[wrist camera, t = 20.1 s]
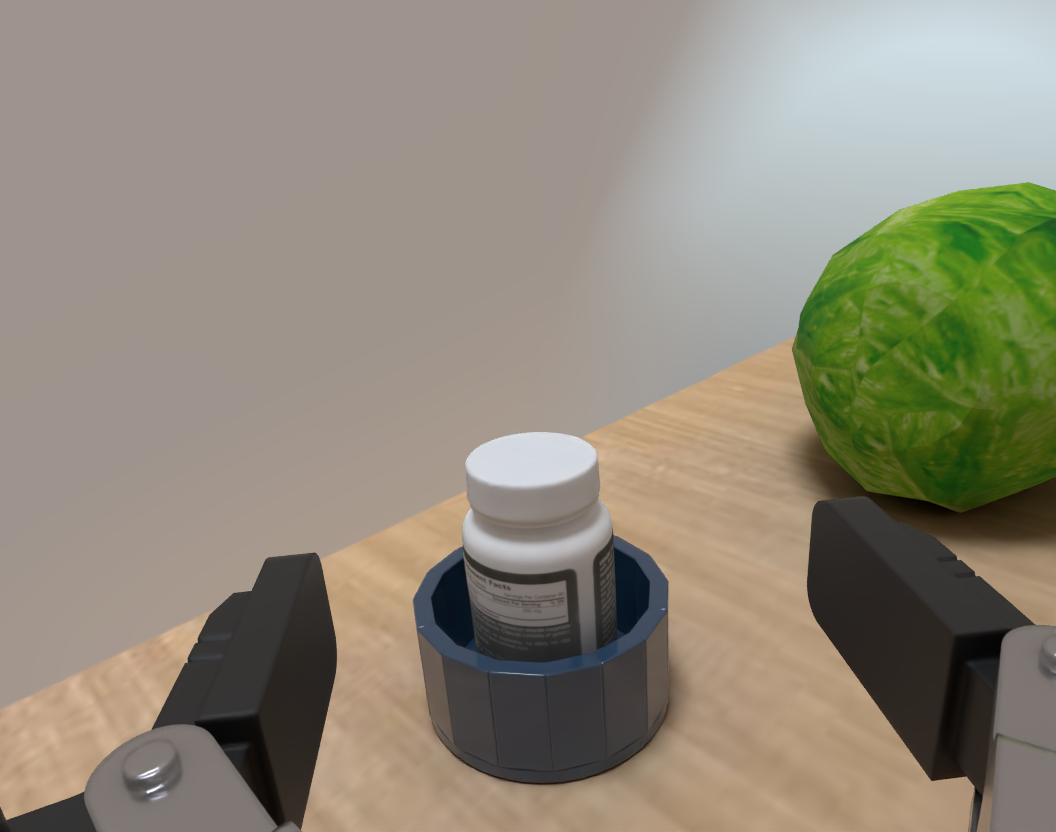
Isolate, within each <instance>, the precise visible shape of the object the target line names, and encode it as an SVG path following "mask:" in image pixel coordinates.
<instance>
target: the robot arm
mask: <svg viewBox="0 0 1056 832" xmlns="http://www.w3.org/2000/svg"><path fill="white" fill-rule="evenodd" d="M807 591H808V598H809V603H810V606H811V609H812V612H813V615H814V617H815V619H816V621H817V622H818V624H819V625H820V627H821V628H822V629H823V631H824V632H825V633H826V635H827V636H828V638H829V639H830V640H831V642H832V643H833V645H834V646H835V647H836V649H837V650H838V652H839V653H840V654H841V656H842V657H843V659H844V660H845V661H846V663H847V664H848V665H849V667H850V668H851V670H852V671H853V672H854V674H855V675H856V677H857V678H858V679H859V681H860V682H861V684H862V685H863V686H864V688H865V689H866V690H867V692H868V693H869V695H870V696H871V697H872V699H873V700H874V702H875V703H876V704H877V706H878V707H879V709H880V710H881V711H882V713H883V714H884V715H885V717H886V718H887V720H888V721H889V722H890V724H891V725H892V727H893V728H894V729H895V731H896V732H897V734H898V735H899V736H900V738H901V739H902V741H903V742H904V743H905V745H906V746H907V747H908V749H909V750H910V752H911V753H912V754H913V756H914V757H915V759H916V760H917V761H918V763H919V764H920V766H921V767H922V768H923V770H924V771H925V772H926V774H927V775H928V777H929V778H930V779H931V781H934V780H942V779H950V778H958V777H966V776H967V777H968V779H969V780H970V781H971V782H972V784H973V785H974V786H975V787H974V792H973V797H972V803H971V809H970V818H969V826H968V832H1056V626H1047V625H1035V624H1034V623H1033V622H1032V621H1030V620H1029V619H1028V618H1027V617H1026V616H1025V615H1024V614H1022V613H1021V612H1020V611H1019V610H1018V609H1017V608H1016V607H1014V606H1013V605H1012V604H1011V603H1010V602H1009V601H1007V600H1006V599H1005V598H1004V597H1003V596H1002V595H1001V594H999V593H998V592H997V591H996V590H995V589H994V588H993V587H991V586H990V585H989V584H988V583H987V582H986V581H984V580H983V579H982V578H981V577H980V576H975V572H974V571H973V570H972V569H971V568H970V567H968V566H967V565H966V564H965V563H964V562H963V561H961V560H957V556H956V555H955V554H953V553H952V552H951V551H950V550H949V549H948V548H946V547H945V546H944V545H943V544H942V543H941V542H940V541H938V540H937V539H936V538H935V537H933V536H931V535H929V534H927V533H925V532H923V531H920V530H918V529H916V528H914V527H912V526H910V525H908V524H906V523H904V522H902V523H896V522H895V521H894V520H893V519H892V518H891V517H890V516H889V515H888V514H886V513H885V512H884V511H883V510H882V509H881V508H880V507H879V506H878V505H877V504H875V503H874V502H873V501H872V500H871V499H870V498H868V497H866V496H860V497H850V498H841V499H831V500H822V501H818V502H817V503H816V504H815V506H814V509H813V513H812V523H811V537H810V550H809V564H808V577H807ZM336 666H337V647H336V637H335V631H334V626H333V621H332V616H331V611H330V606H329V600H328V595H327V590H326V585H325V580H324V575H323V570H322V565H321V562H320V559H319V556H318V555H317V554H316V553H307V554H297V555H288V556H278V557H269V558H267V559H266V560H265V562H264V564H263V567H262V569H261V571H260V573H259V575H258V578H257V580H256V582H255V584H254V587H253V589H252V591H248V592H239V593H233V594H232V595H231V596H230V597H229V598H228V599H227V600H225V602H223V603H222V604H221V605H220V606H219V607H218V608H217V609H215V610H214V611H213V612H212V613H211V614H210V615H209V617H208V619H207V621H206V623H205V625H204V627H203V629H202V631H201V633H200V635H199V637H198V643H195V645H194V647H193V649H192V651H191V653H190V655H189V657H188V663H185V664H184V666H183V668H182V670H181V672H180V674H179V676H178V678H177V680H176V682H175V684H174V686H173V688H172V690H171V692H170V694H169V696H168V698H167V700H166V702H165V704H164V706H163V708H162V710H161V712H160V714H159V716H158V718H157V720H156V722H155V724H154V726H153V728H152V730H150V731H148V732H145V733H143V734H140V735H138V736H136V737H134V738H132V739H131V740H129V741H127V742H125V743H124V744H122V745H121V746H119V747H118V748H117V749H115V750H114V751H113V752H111V753H110V754H109V755H108V756H107V757H106V758H105V759H104V760H103V761H102V762H101V763H100V764H99V765H98V766H97V768H96V769H95V770H94V772H93V773H92V774H91V776H90V778H89V780H88V782H87V785H86V788H85V792H83V793H81V794H78V795H76V796H73V797H71V798H68V799H65V800H62V801H60V802H57V803H54V804H51V805H48V806H45V807H43V808H40V809H37V810H34V811H31V812H28V813H26V814H23V815H20V816H17V817H14V818H11V819H9V820H6V819H5V817H4V814H3V812H2V810H1V808H0V832H302V831H301V827H302V823H303V818H304V814H305V809H306V805H307V800H308V796H309V791H310V787H311V783H312V778H313V774H314V769H315V765H316V760H317V756H318V751H319V747H320V742H321V738H322V733H323V729H324V724H325V720H326V715H327V711H328V706H329V702H330V697H331V693H332V688H333V684H334V679H335V674H336Z"/></svg>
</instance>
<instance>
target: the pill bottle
mask: <svg viewBox="0 0 1056 832" xmlns="http://www.w3.org/2000/svg"><path fill="white" fill-rule="evenodd" d="M465 468H466V469H465V470H466V481H467V498H468V501H469V503H470V506H471V509H470V510H469V512H468V513H467V515H466V517H465V519H464V523H463V527H462V542H463V557H464V562H465V570H466V577H467V584H468V590H469V597H470V604H471V612H472V620H473V628H474V636H475V645H476V652H478V653H480V654H483V655H486V656H488V657H491V658H494V659H496V660H510V661H527V662H544V663H545V662H550V661H554V660H559V659H564V658H569V657H574V656H579V655H584V654H588V653H593V652H594V651H596V650H598V649H600V648H602V647H604V646H605V645H607V644H609V643H611V642H613V641H615V640H617V639H618V637H617V613H616V588H615V564H614V540H613V527H612V520H611V516H610V513H609V511H608V509H607V507H606V506H605V505H604V503H603V502H602V501H601V500H600V499H599V498H598V497H599V491H600V479H599V467H598V456H597V452H596V450H595V449H594V447H593V446H592V445H590V444H589V443H588V442H586V441H584V440H582V439H580V438H577V437H574V436H570V435H566V434H560V433H550V432H548V433H547V432H531V433H521V434H514V435H509V436H505V437H501V438H497V439H494V440H492V441H489V442H487V443H484V444H482V445H481V446H479V447H478V448H476V449H475V450H474V451H473V452H472V453H471V454H470V455H469V456H468V458H467V460H466V465H465Z"/></svg>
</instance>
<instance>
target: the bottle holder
mask: <svg viewBox="0 0 1056 832" xmlns="http://www.w3.org/2000/svg"><path fill="white" fill-rule="evenodd" d="M613 540H614V564H615V588H616V613H617V637H618V639H617V640H615V641H613V642H611V643H609V644H607V645H605V646H604V647H602V648H600V649H598V650H596V651H594V652H593V653H588V654H584V655H579V656H574V657H569V658H564V659H559V660H554V661H550V662H545V663H544V662H527V661H510V660H496V659H494V658H491V657H488V656H486V655H483V654H480V653H478V652H476V645H475V636H474V628H473V620H472V612H471V604H470V597H469V590H468V584H467V577H466V570H465V562H464V557H463V547H460V548H458V549H457V550H455V551H453V552H452V553H451V554H450V555H448V556H447V557H446V558H444V559H443V560H442V561H441V562H439V563H438V564H437V565H435V566H434V567H433V568H432V569H430V570H429V572H427V574H426V576H425V578H424V580H423V581H422V583H421V585H420V587H419V589H418V591H417V593H416V595H415V596H414V599H413V606H414V613H415V621H416V628H417V635H418V642H419V648H420V655H421V661H422V668H423V674H424V681H425V687H426V694H427V700H428V707H429V713H430V716H431V720H432V723H433V725H434V728H435V730H436V732H437V734H438V735H439V737H440V738H441V740H442V741H443V743H444V744H445V745H446V746H447V747H448V748H449V749H450V750H451V751H452V752H453V753H454V754H455V755H456V756H458V757H459V758H460V759H462V760H463V761H464V762H466V763H467V764H469V765H471V766H473V767H475V768H476V769H478V770H480V771H483V772H485V773H488V774H490V775H493V776H497V777H500V778H504V779H508V780H513V781H520V782H527V783H554V782H565V781H571V780H576V779H582V778H585V777H588V776H592V775H595V774H598V773H601V772H603V771H605V770H608V769H610V768H613V767H615V766H616V765H618V764H620V763H622V762H623V761H625V760H627V759H628V758H630V757H631V756H632V755H634V754H635V753H636V752H638V751H639V750H640V749H641V748H642V747H643V746H644V745H645V744H646V743H647V742H648V741H649V740H650V739H651V738H652V736H653V735H654V734H655V732H656V731H657V730H658V728H659V726H660V724H661V722H662V720H663V718H664V716H665V713H666V710H667V706H668V700H669V587H668V580H667V578H666V577H665V575H664V574H663V573H662V571H661V570H660V568H659V567H658V566H657V564H656V563H655V561H654V560H653V559H652V557H651V556H650V555H649V554H648V553H646V552H644V551H642V550H641V549H639V548H637V547H635V546H634V545H632V544H630V543H628V542H627V541H625V540H623V539H622V538H619V537H618V536H614V535H613Z"/></svg>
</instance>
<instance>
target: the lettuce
mask: <svg viewBox="0 0 1056 832" xmlns="http://www.w3.org/2000/svg"><path fill="white" fill-rule="evenodd" d="M792 352H793V356H794V360H795V364H796V368H797V372H798V376H799V380H800V384H801V388H802V392H803V396H804V400H805V404H806V406H807V408H808V411H809V413H810V416H811V418H812V420H813V423H814V425H815V427H816V430H817V432H818V435H819V437H820V439H821V442H822V444H823V446H824V449H825V451H826V452H827V453H828V454H829V455H830V456H831V457H832V458H833V459H834V460H835V461H836V462H837V463H838V464H839V465H840V466H841V467H842V468H843V469H844V470H845V471H846V472H847V473H849V474H850V475H851V476H852V477H853V478H854V479H855V480H856V481H857V482H858V483H859V484H860V485H861V486H862V487H863V488H864V489H865V490H866V491H868V492H875V493H881V494H887V495H894V496H900V497H907V498H913V499H920V500H926V501H929V502H931V503H934V504H937V505H940V506H943V507H945V508H948V509H951V510H954V511H956V512H959V513H962V512H965V511H968V510H970V509H973V508H976V507H979V506H981V505H984V504H987V503H990V502H992V501H995V500H998V499H1001V498H1003V497H1006V496H1009V495H1012V494H1014V493H1017V492H1020V491H1023V490H1025V489H1028V488H1031V487H1034V486H1036V485H1038V484H1041V483H1043V482H1045V481H1048V480H1050V479H1052V478H1054V477H1056V191H1055V190H1051V189H1048V188H1045V187H1042V186H1039V185H1036V184H1032V183H1029V182H1028V183H1020V184H1012V185H1004V186H995V187H987V188H979V189H971V190H963V191H957V192H954V193H951V194H947V195H944V196H941V197H938V198H935V199H932V200H929V201H925V202H923V203H919V204H916V205H913V206H910V207H907V208H904V209H900V210H898V211H897V212H895V213H894V214H892V215H891V216H889V217H888V218H887V219H885V220H884V221H882V222H881V223H879V224H878V225H876V226H875V227H873V228H872V229H870V230H869V231H867V232H866V233H864V234H863V235H862V236H860V237H859V238H857V239H856V240H854V241H853V242H851V243H850V244H848V245H847V246H845V247H844V248H842V249H841V250H840V251H838V252H837V253H835V254H834V255H833V256H832V258H831V259H830V261H829V263H828V264H827V266H826V268H825V270H824V271H823V273H822V275H821V277H820V278H819V280H818V282H817V284H816V285H815V287H814V289H813V291H812V292H811V294H810V296H809V297H808V299H807V302H806V303H805V306H804V308H803V310H802V312H801V314H800V321H799V328H798V331H797V334H796V338H795V341H794V344H793V347H792Z"/></svg>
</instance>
